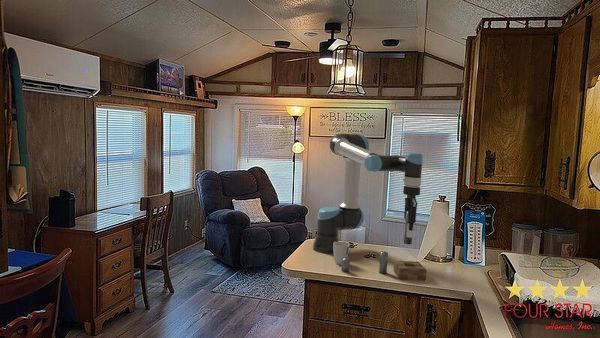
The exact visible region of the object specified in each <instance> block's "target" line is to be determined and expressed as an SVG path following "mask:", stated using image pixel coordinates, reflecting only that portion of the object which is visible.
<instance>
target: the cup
mask: <svg viewBox="0 0 600 338" xmlns="http://www.w3.org/2000/svg"><path fill="white" fill-rule="evenodd" d="M333 252H334V253H333V260H334V264H336V265H340V266H342V258H349V252H350V243H349V242H346V241H339V242H334V243H333Z"/></svg>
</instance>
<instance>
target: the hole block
mask: <svg viewBox="0 0 600 338" xmlns="http://www.w3.org/2000/svg"><path fill="white" fill-rule="evenodd" d="M392 271H393V272H394V273H395V276H396V277H398V280H405V281H406V280H407V281H408V280H409V281H411V280H412V281H426V277H427V269H426V268H425V267H424V266H423V264H421V263H420V261H410V260H393V270H392Z"/></svg>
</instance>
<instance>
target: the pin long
mask: <svg viewBox="0 0 600 338" xmlns="http://www.w3.org/2000/svg"><path fill="white" fill-rule="evenodd" d="M408 216H409V211H406V220H405V219H404V221H405V222H404V232H405V235H404V236H403V237H404V239H403V244H405V245H412V244H413V237H407V222H408Z"/></svg>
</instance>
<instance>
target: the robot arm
mask: <svg viewBox="0 0 600 338" xmlns="http://www.w3.org/2000/svg"><path fill="white" fill-rule="evenodd" d="M369 143H370V142H369V140H368V139H367V137H366V136H365V135H364V134H357V133H337V134H335V135H334V136H332V137H331V138H330V141H329V149H330V151H331V152H332V153H333V154H335V155H337V156H338V157H342V158H343V159H344V161H345V164H344V177H343V178H344V179H343V188H342V189H343V190H342V202H341V203H340V204H339V207H338V206H325V207H321V208H320V209H319V210H318V213H317V226H316V227H317V228H316V229H317V230H316V236H315V239H314V241H313V245H312V250H314V251H316V252H318V253H324V254H334V252H333V243H334V242H340V240H339V239H340V238H339V231H347V230H350V231H351V230H356V229H359V228H360V227H362V225H363V223H364V218H365V217H364V215H365V214H364V212H363V210H362V209H361V206H360V205H359V190H360V189H359V188H360V178H361V165H362V166H364V168H365V170H366V171H368V172H373V173H374V172H375V173H376V172H399V173H400V172H402V173H404V176H403V177H404V178H403V179H402V180H403V184H404V186H403V190H402V191H403V195H406V197H405V198H404V215H403V218H404V221H405V220H406V211H409V216H408V222H407V237H412V238H414V228H415V227H414V225H415V224H416V219H417V211H418V204H419V203H418V202H417V198H416V196H420V195H421V185H422V171H423V153H418V152H406V154H405V155H404V156H403V155H397V154H394V155H381V154H378V153H375V152H373V151H370V144H369ZM403 233H404V235H405V231H404V232H403Z"/></svg>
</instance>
